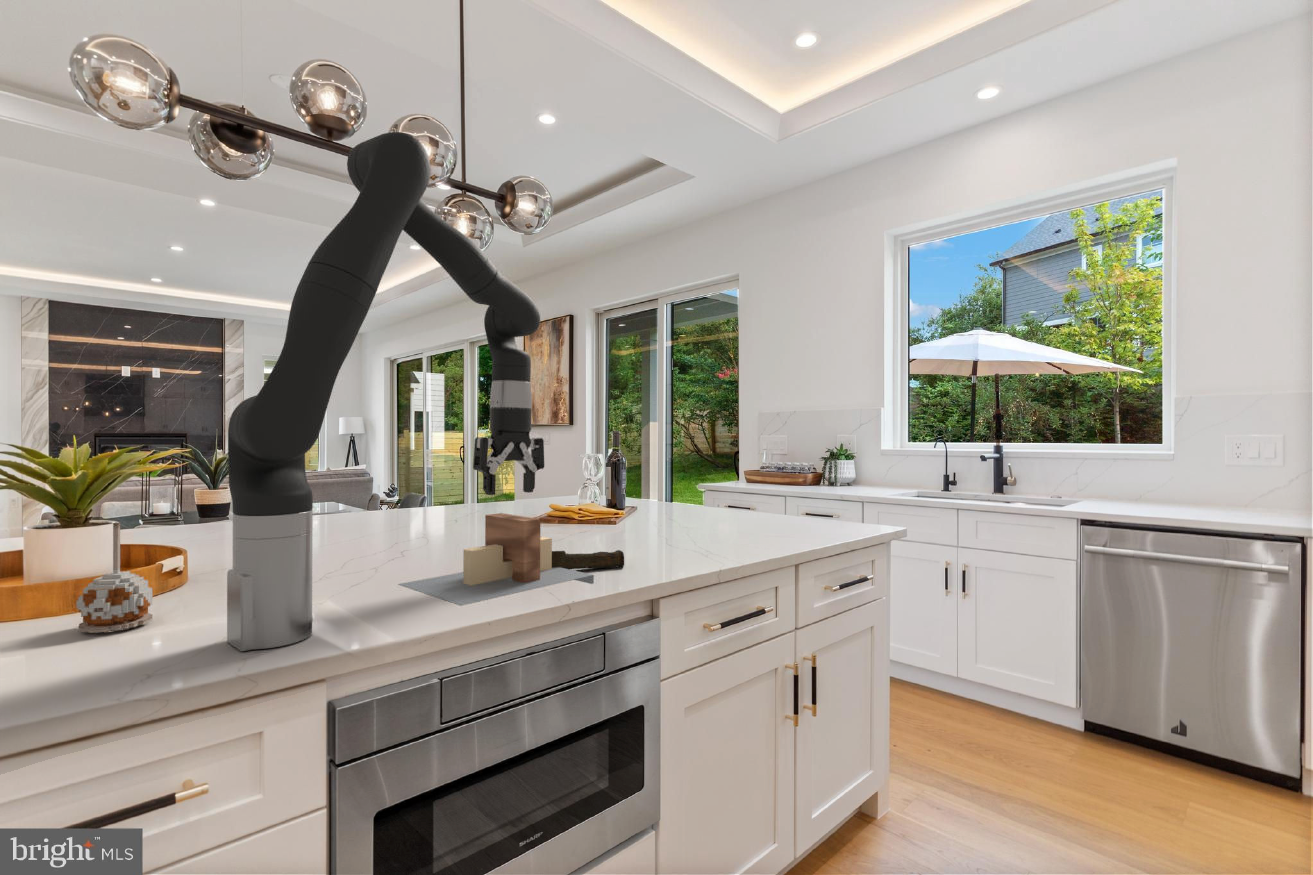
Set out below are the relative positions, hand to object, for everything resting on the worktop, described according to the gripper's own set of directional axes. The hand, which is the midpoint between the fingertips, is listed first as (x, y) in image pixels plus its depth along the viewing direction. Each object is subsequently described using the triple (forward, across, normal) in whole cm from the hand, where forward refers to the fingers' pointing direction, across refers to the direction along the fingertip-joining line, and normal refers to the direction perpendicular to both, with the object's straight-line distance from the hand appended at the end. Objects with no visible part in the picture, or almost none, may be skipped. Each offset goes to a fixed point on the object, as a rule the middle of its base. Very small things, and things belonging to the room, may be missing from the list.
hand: (509, 493), depth 116 cm
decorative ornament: (+18, -53, +20) cm, 59 cm away
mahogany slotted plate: (+15, 0, -1) cm, 15 cm away
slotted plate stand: (+17, -3, -1) cm, 17 cm away
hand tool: (+17, +16, -2) cm, 24 cm away
